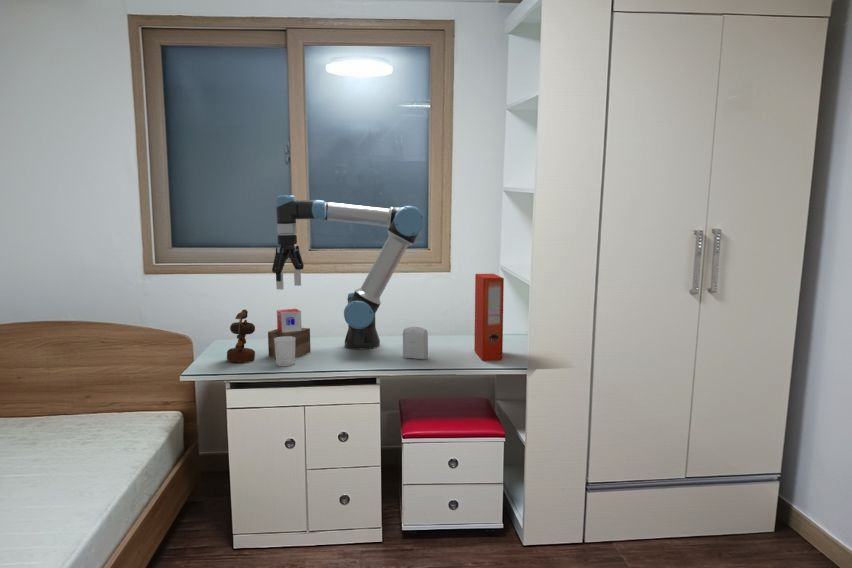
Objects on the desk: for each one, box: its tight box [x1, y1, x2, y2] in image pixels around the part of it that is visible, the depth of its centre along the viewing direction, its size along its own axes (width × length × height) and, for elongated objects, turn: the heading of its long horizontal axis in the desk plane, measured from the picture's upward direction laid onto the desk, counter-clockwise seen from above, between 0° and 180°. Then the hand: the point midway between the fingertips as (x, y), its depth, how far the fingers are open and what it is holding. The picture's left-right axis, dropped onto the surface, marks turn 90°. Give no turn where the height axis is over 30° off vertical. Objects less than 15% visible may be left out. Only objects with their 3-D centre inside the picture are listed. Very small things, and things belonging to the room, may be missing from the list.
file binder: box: [473, 273, 505, 362], centre depth 252 cm, size 8×17×32 cm, turn 6°
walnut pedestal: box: [267, 327, 311, 359], centre depth 258 cm, size 12×12×10 cm
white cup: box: [274, 336, 296, 367], centre depth 242 cm, size 8×8×10 cm
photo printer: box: [402, 326, 429, 360], centre depth 250 cm, size 10×4×12 cm, turn 65°
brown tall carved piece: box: [226, 308, 256, 363], centre depth 249 cm, size 15×11×20 cm
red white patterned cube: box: [276, 308, 303, 332], centre depth 257 cm, size 8×8×8 cm
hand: (289, 287), depth 257 cm, fingers open, 13 cm apart
